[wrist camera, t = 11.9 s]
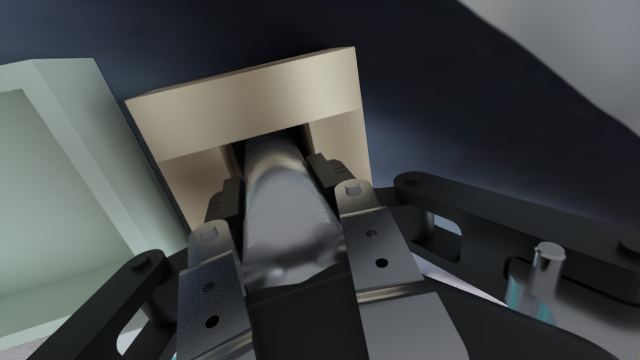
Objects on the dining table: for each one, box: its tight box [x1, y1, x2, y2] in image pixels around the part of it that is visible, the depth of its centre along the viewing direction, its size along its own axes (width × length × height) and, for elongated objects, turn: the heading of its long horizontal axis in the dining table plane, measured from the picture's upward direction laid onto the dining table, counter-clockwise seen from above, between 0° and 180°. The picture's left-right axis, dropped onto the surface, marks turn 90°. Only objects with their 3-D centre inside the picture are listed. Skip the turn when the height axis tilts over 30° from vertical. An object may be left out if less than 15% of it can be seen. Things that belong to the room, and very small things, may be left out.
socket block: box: [125, 47, 372, 231], centre depth 16 cm, size 10×10×4 cm
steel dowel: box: [242, 129, 348, 292], centre depth 13 cm, size 3×3×11 cm
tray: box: [0, 58, 189, 351], centre depth 13 cm, size 12×12×4 cm
